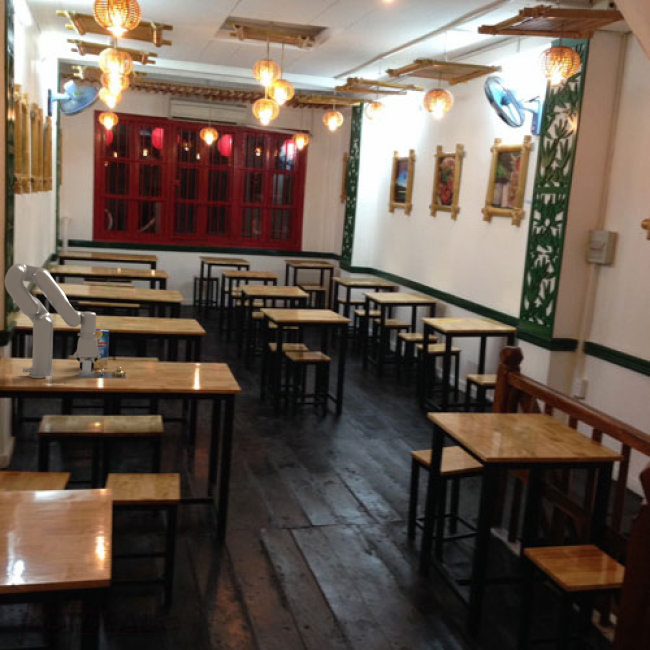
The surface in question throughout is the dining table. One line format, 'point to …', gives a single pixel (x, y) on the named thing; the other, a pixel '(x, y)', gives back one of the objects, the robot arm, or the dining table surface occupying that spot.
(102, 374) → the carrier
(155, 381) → the dining table surface
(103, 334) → the beverage box
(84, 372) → the square hollow tube
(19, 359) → the dining table surface
